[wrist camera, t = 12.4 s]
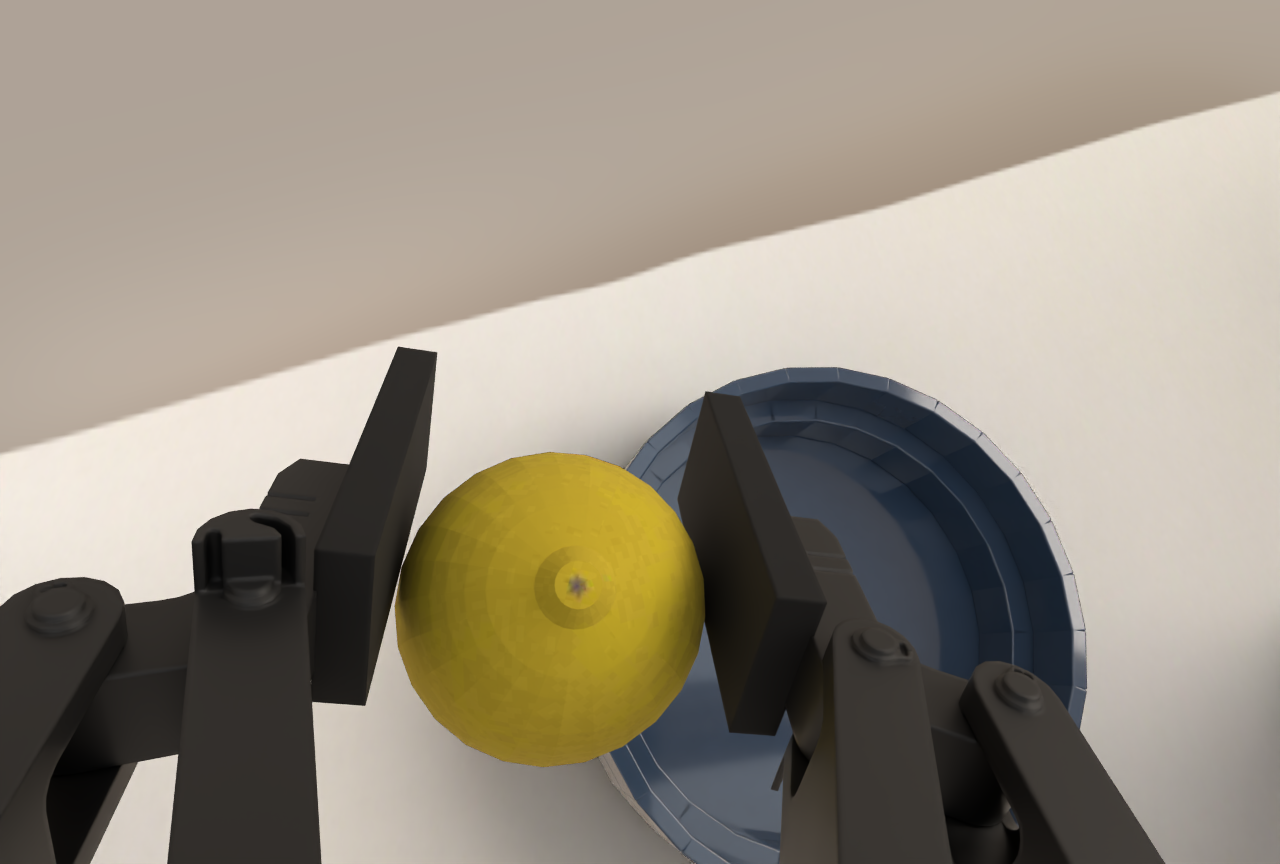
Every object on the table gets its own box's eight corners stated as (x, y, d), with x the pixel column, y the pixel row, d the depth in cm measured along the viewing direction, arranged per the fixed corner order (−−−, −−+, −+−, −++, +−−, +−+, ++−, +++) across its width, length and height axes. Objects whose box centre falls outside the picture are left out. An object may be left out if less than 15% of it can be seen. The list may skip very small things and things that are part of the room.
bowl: (851, 337, 37) (904, 291, 33) (1087, 710, 35) (1180, 717, 30) (477, 534, 32) (480, 512, 27) (725, 996, 29) (773, 1056, 25)
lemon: (391, 523, 19) (347, 428, 12) (623, 482, 21) (718, 373, 13) (428, 775, 18) (406, 848, 10) (673, 713, 19) (809, 740, 12)
